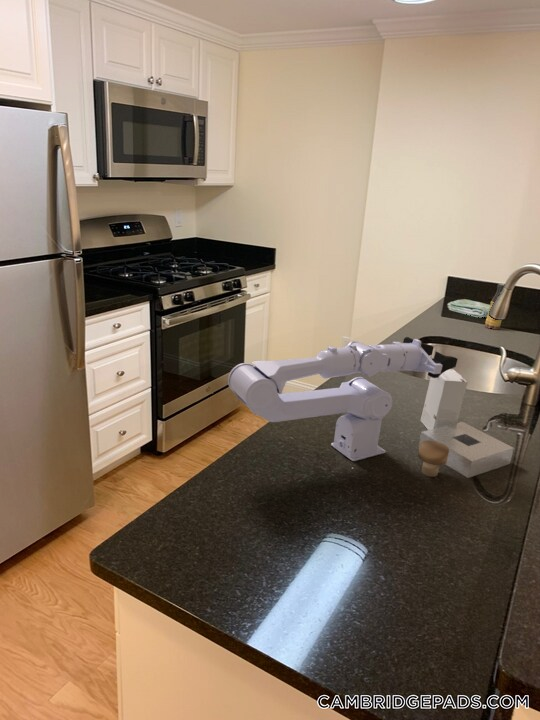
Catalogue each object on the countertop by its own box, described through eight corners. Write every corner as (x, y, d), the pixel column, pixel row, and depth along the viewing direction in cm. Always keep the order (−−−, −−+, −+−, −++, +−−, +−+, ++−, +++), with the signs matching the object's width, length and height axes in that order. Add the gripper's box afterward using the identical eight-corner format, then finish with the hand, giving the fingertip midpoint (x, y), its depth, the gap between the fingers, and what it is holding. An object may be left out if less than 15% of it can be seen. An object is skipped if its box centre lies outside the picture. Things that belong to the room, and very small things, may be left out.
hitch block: (467, 477, 110) (471, 461, 109) (418, 447, 121) (421, 431, 120) (509, 464, 117) (513, 447, 116) (459, 436, 128) (462, 421, 127)
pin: (430, 482, 107) (435, 456, 105) (409, 468, 112) (414, 443, 110) (449, 476, 110) (455, 450, 108) (428, 463, 115) (433, 438, 113)
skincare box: (419, 421, 135) (430, 366, 130) (442, 422, 136) (453, 367, 131) (432, 437, 127) (443, 379, 122) (456, 437, 128) (468, 380, 123)
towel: (464, 306, 277) (466, 297, 275) (503, 316, 262) (505, 306, 260) (445, 309, 265) (447, 299, 264) (484, 320, 250) (486, 309, 249)
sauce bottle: (481, 326, 237) (490, 282, 230) (491, 325, 239) (501, 282, 233) (492, 330, 231) (502, 285, 224) (503, 329, 234) (513, 285, 227)
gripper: (423, 352, 107) (471, 350, 113) (380, 329, 119) (426, 329, 125) (415, 384, 109) (463, 381, 115) (373, 358, 121) (418, 357, 127)
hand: (443, 356), depth 120 cm, fingers open, 7 cm apart
